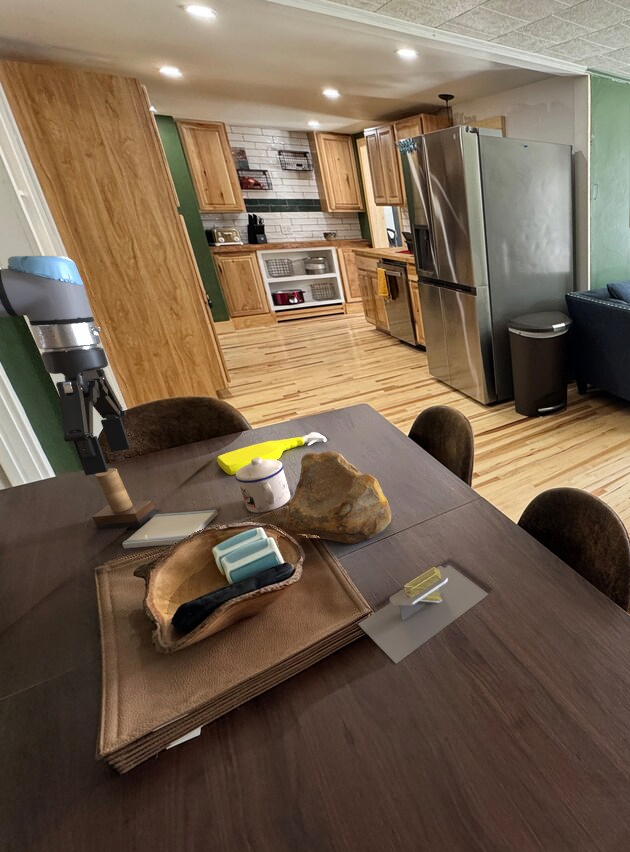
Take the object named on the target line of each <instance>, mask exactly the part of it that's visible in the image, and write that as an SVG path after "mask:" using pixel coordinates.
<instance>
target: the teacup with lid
mask: <svg viewBox="0 0 630 852" xmlns="http://www.w3.org/2000/svg"><path fill="white" fill-rule="evenodd" d="M234 476H235V480H236V481H237V482H238V485H239V489H240V492H241V495H242V498H243V501H244V504H245V507H246V509H247V510H248V512H250V513H256V514H259V513H266V512H272V511H274V510H276V509H279V508H281V507H283V506H284V505H286V504H287V503H288V502H289V501H290V499H291V492H290V488H289V485H288V481H287V478H286V475H285V471H284V464H283V462H281V461H280V460H279V459H277V460H274V459H267V460H262V459H261V458H259V457H257V458H254V459H252V460H251V463H250V464H247V465H245V466H243V467H242V468H240V469H239V470H238V471H237V473H236V474H235V475H234Z"/></svg>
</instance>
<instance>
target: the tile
mask: <svg viewBox="0 0 630 852" xmlns="http://www.w3.org/2000/svg"><path fill="white" fill-rule="evenodd" d="M218 515H219V513H218V510H217V509H209V510H195V511H184V512H181V511H180V512H170V513H169V512H168V513H157V515H154V517H153V518H152V519H151V520H149V521H148V522H147V523H146V524H145V525H144V526H142V527H141V528H140V529H137V530H136V531H135V532H134V533H133V534H132V535H130V536H129V537H128V538H127V539H126V540H124V541H123V542H122V544H121V545H122V547H123V549H134V548H146V547H156V546H157V547H158V546H168V545H170V546H171V545H176V544H175V543H177V542H178V541H180V540H182V539H184V538H186V537H188V536H189V535H191V534H192V533H194V532H197V531H199V530H202V529H203V530H204V529H205V528H206V527H207V526H208V525H209V524H210V523H211V522H212V521H213V520H214V519H215V518H216V517H217V516H218ZM203 530H202V531H203Z"/></svg>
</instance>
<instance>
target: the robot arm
mask: <svg viewBox="0 0 630 852" xmlns="http://www.w3.org/2000/svg"><path fill="white" fill-rule="evenodd" d="M7 264H8V265H7V268H0V318H7V317H8V318H9V317H21V316H24V317H25V316H26V318H27V320H28V322H29V325H30V329H31V331H32V335H33V338H34V341H35V344H36V347H37V348H38V349H40V350H44V351H42V353H41V354H40V357H41V360H42V362H43V365H44V368H45V371H46V372H47V373H49V374H52V375H60V374H61V375H63V378H64V381H56V384H55V386H56V389H57V392H58V395H59V402H60V411H61V419H62V426H63V434H64V436H63V440H64V442H65V443H67V442H73V445H74V447H75V450H76V452H77V455H78V458H79V461H80V463H81V466H82V470H83V472H84V475H85V476H90V475H96V474H98V473H103V472H107V471H108V469H109V468H108V464H107V461H106V459H105V456H104V452H103V450H102V447H101V445H100V441H99V438H98V436H97V435H94V409H95V411H96V412H97V413H98V415H99V416H101V418H102V419H101V420H100V423H101V426H102V429H103V432H104V436H105V438H106V441H107V444H108V447H109V451H110V453H114V452H119V451H127V450H130V449H131V445H130V442H129V438H128V436H127V431H126V429H125V426H124V423H123V420H122V417H126V415H127V412H126V410H123V409H124V408H123V406H122V404H121V403H120V401H119V398H118V397H117V395H116V393H115V392H114V390H113V388H112V386H111V384H110V382H109V380H108V378H107V375H106V372H105V370H104V369H105V368H107V367H108V366H109V362H108V358H107V356H106V352H105V349H104V348H103V347H101V346H98V345H99V344H101V342H102V341H101V338H100V334H99V333H101V332H102V328H101V326H96V322H95V318H94V315H93V312H92V308H91V305H90V301H89V298H88V294H87V290H86V288H85V284H84V282H83V281H82V277H81V275H80V271H79V270H78V267H77V265H76V262H75V261H73V260H72V259H71V258H69V257H66V256H61V255H14V256H10V257H8V258H7Z"/></svg>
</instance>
